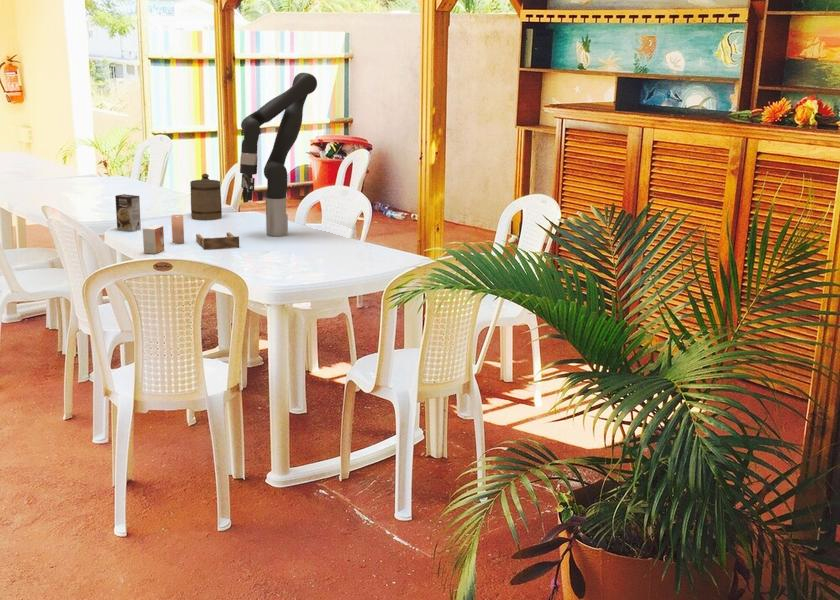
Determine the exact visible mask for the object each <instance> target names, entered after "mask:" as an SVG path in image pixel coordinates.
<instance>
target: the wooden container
mask: <svg viewBox="0 0 840 600" xmlns="http://www.w3.org/2000/svg"><path fill="white" fill-rule="evenodd" d="M209 177H210V176H209V174H208V173H203V174H201V179H195V180H191V181H190V182H189V183H190V185H189V186H190V213H191V219H193V220H197V221H214V220H220V219H221V218H223V217H222V216H223V213H222V192H221V181H220V180H217V179H210V178H209Z"/></svg>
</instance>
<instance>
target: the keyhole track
mask: <svg viewBox="0 0 840 600" xmlns="http://www.w3.org/2000/svg"><path fill="white" fill-rule="evenodd" d="M195 237H196V238H195V239H196V243H197V244H199V246H200V247H201V248H202V249H203V250H206V251H207V250H218V249H232V248H231V247H237V248H240V237H239V236H235V235H234V234H232V233H231V232H226V236H225V237H203V236H202V235H201V234H200V233H199V234H198V233H196V234H195Z"/></svg>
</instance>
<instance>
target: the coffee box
mask: <svg viewBox="0 0 840 600" xmlns="http://www.w3.org/2000/svg"><path fill="white" fill-rule="evenodd" d="M140 199H141V198H140V195H133V194H132V195H131V194H125V193H123V194H118V195H115V215H116V230H117V231H121V230H123V231H122V232H129V231H134V232H138V231H141V230H142V229H141V205H140V204H141V201H140ZM140 229H141V230H140ZM137 230H138V231H137Z"/></svg>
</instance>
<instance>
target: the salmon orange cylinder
mask: <svg viewBox="0 0 840 600" xmlns="http://www.w3.org/2000/svg"><path fill="white" fill-rule="evenodd" d="M170 217H171V238H172V240H171V241H172V244H173V243H175V244H174V245H182V243H183V244H184V243H185V232H184V231H185V228H184V225H185V224H184V215H183V214H172V215H171V216H170Z"/></svg>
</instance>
